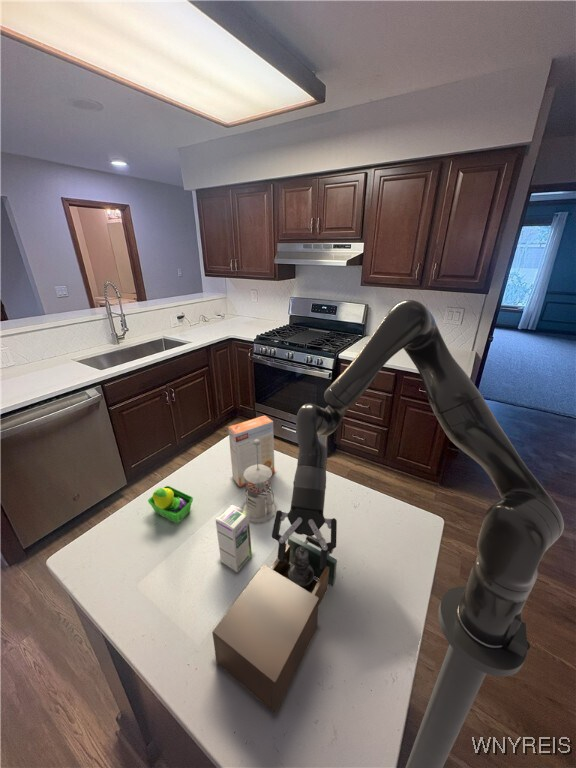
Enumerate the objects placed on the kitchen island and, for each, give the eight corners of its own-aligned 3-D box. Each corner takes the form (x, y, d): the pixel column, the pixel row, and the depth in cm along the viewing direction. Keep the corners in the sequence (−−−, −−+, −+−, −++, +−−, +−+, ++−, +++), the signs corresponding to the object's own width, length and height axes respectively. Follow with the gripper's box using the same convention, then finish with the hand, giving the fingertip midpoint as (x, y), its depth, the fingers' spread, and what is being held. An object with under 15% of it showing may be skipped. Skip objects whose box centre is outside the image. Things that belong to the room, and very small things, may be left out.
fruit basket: (196, 510, 94) (192, 480, 90) (173, 532, 87) (168, 500, 82) (169, 497, 99) (163, 468, 94) (145, 516, 92) (138, 486, 87)
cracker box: (266, 464, 115) (265, 414, 107) (275, 472, 111) (274, 421, 102) (231, 478, 108) (227, 425, 100) (239, 488, 103) (235, 433, 95)
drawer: (298, 544, 83) (299, 522, 80) (342, 567, 77) (345, 544, 74) (255, 608, 68) (253, 584, 65) (304, 643, 62) (306, 618, 59)
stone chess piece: (284, 576, 73) (284, 539, 69) (307, 568, 75) (309, 532, 70) (293, 600, 68) (294, 562, 63) (317, 592, 70) (320, 554, 65)
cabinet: (264, 592, 72) (263, 563, 68) (317, 627, 65) (319, 597, 61) (216, 662, 59) (212, 631, 56) (275, 714, 53) (275, 683, 49)
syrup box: (237, 573, 76) (234, 529, 70) (219, 561, 79) (215, 518, 73) (252, 555, 80) (250, 513, 75) (234, 545, 83) (231, 503, 78)
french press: (263, 493, 101) (262, 426, 91) (285, 515, 93) (286, 445, 83) (236, 507, 95) (232, 437, 86) (257, 532, 87) (254, 458, 77)
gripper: (339, 492, 75) (334, 569, 69) (281, 485, 78) (271, 558, 72) (340, 490, 68) (334, 575, 63) (277, 482, 71) (265, 562, 65)
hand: (301, 566), depth 67 cm, fingers open, 8 cm apart
